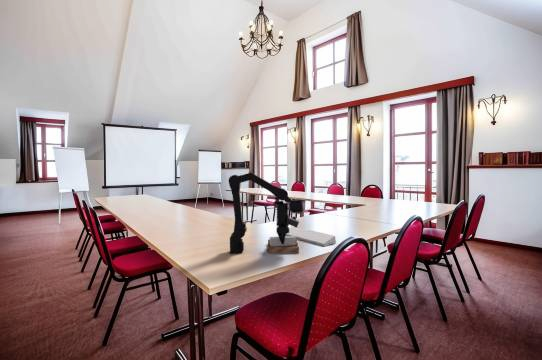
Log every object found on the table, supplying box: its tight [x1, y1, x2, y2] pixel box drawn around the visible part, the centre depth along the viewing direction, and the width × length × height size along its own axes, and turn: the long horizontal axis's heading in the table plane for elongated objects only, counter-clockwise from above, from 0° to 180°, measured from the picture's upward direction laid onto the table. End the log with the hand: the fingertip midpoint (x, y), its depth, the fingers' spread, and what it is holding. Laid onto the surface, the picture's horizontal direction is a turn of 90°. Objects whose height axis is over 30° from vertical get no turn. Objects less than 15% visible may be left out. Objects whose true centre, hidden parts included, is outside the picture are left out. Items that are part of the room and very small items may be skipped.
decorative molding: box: [286, 226, 337, 247], centre depth 164 cm, size 34×5×10 cm
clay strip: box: [269, 236, 296, 247], centre depth 141 cm, size 13×4×4 cm, turn 100°
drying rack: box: [266, 238, 300, 254], centre depth 145 cm, size 16×16×3 cm
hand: (282, 242), depth 141 cm, fingers closed on clay strip, 4 cm apart
